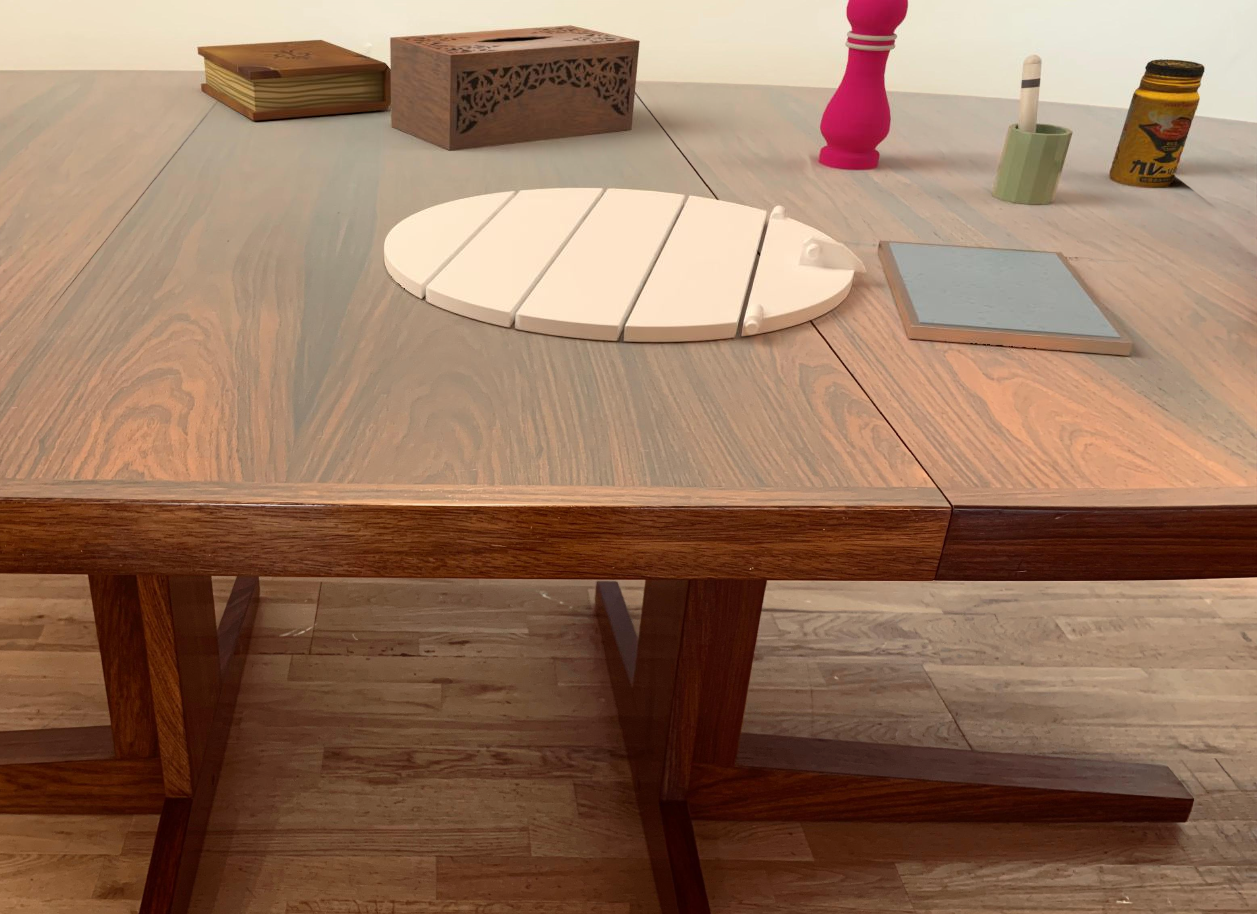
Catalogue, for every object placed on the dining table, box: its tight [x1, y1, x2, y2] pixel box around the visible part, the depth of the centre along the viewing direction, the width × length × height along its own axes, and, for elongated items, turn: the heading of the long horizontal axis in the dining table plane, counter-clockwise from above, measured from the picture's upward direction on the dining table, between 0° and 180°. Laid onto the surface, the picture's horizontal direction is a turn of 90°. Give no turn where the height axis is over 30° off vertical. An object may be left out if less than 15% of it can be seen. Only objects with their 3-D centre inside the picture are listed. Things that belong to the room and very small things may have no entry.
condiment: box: [1109, 58, 1206, 189], centre depth 124 cm, size 7×8×12 cm
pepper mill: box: [818, 0, 909, 171], centre depth 126 cm, size 7×7×20 cm
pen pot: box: [991, 122, 1073, 206], centre depth 118 cm, size 6×6×7 cm
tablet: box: [877, 240, 1134, 357], centre depth 94 cm, size 15×22×1 cm
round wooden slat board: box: [383, 187, 867, 343], centre depth 101 cm, size 40×39×3 cm
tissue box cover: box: [389, 24, 641, 151], centre depth 144 cm, size 26×14×10 cm, turn 119°
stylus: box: [1017, 54, 1043, 133], centre depth 117 cm, size 2×2×13 cm
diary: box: [196, 39, 391, 121], centre depth 158 cm, size 23×19×6 cm
